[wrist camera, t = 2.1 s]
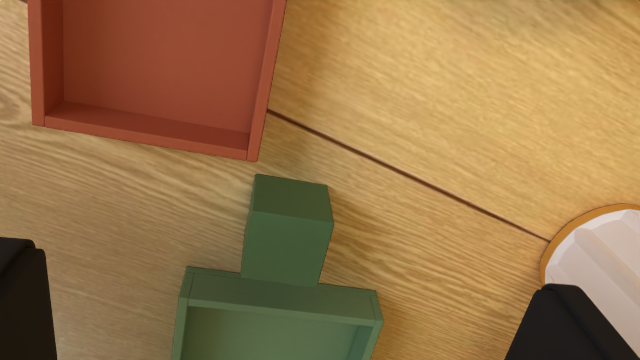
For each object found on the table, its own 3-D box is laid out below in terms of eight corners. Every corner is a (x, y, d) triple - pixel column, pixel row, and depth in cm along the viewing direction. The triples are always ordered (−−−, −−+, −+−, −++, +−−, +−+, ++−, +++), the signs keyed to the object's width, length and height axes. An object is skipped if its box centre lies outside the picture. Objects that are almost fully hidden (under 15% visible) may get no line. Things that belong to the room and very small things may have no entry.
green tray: (172, 382, 37) (163, 419, 35) (186, 266, 32) (178, 297, 30) (338, 397, 40) (343, 432, 37) (375, 290, 35) (384, 321, 32)
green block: (244, 233, 32) (239, 278, 28) (255, 172, 30) (252, 211, 26) (312, 243, 32) (316, 287, 28) (327, 184, 30) (334, 223, 26)
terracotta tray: (56, 104, 27) (31, 125, 24) (53, -129, 22) (21, -137, 19) (258, 140, 29) (257, 162, 26) (296, -68, 24) (299, -67, 21)
